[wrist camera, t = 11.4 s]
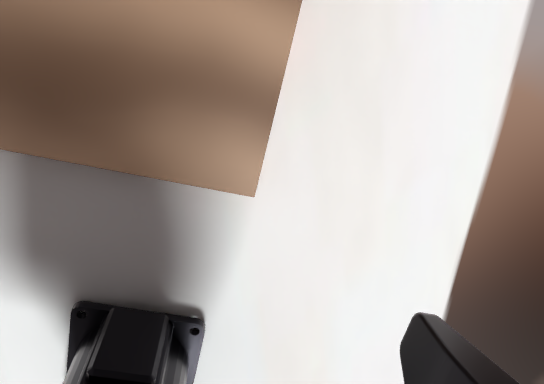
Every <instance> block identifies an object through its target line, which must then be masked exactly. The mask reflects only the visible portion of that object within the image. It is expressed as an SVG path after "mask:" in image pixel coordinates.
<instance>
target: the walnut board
mask: <svg viewBox="0 0 544 384" xmlns="http://www.w3.org/2000/svg"><path fill="white" fill-rule="evenodd" d="M301 3H302V0H0V149H1V150H7V151H12V152H17V153H23V154H28V155H33V156H38V157H44V158H49V159H54V160H60V161H65V162H70V163H75V164H81V165H86V166H91V167H97V168H102V169H107V170H112V171H118V172H123V173H128V174H134V175H139V176H144V177H149V178H155V179H160V180H165V181H171V182H176V183H181V184H186V185H192V186H197V187H202V188H208V189H213V190H218V191H223V192H229V193H234V194H239V195H245V196H250V197H254V196H255V192H256V188H257V184H258V180H259V176H260V172H261V168H262V164H263V159H264V155H265V151H266V147H267V143H268V139H269V135H270V131H271V127H272V122H273V118H274V114H275V110H276V106H277V102H278V98H279V94H280V90H281V85H282V81H283V77H284V73H285V69H286V65H287V61H288V57H289V53H290V48H291V44H292V40H293V36H294V32H295V28H296V24H297V20H298V16H299V11H300V7H301Z"/></svg>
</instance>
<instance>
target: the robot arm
mask: <svg viewBox="0 0 544 384" xmlns="http://www.w3.org/2000/svg"><path fill="white" fill-rule="evenodd" d="M80 311H84V312H86V313H81V312H80ZM192 328H198V330H193V329H192ZM204 333H205V324H204V322H203V321H202V320H200V319H197V318H191V317H184V316H178V315H171V314H164V313H158V312H151V311H145V310H138V309H131V308H125V307H118V306H112V305H105V304H98V303H92V302H85V301H80V302H78V303H76V304H75V305H74V307H73V309H72V312H71V319H70V334H69V348H68V362H67V375H66V377H65V379H64V382H63V384H193V382H194V378H195V373H196V369H197V364H198V360H199V355H200V351H201V347H202V342H203V338H204ZM400 358H401V364H402V371H403V377H404V384H519V383H518V382H517V381H516V380H515V379H513V378H512V377H511V376H510V375H508V374H507V373H506V372H505V371H504V370H503V369H501V368H500V367H499V366H498V365H496V364H495V363H494V362H493V361H492V360H490V359H489V358H488V357H487V356H485V355H484V354H483V353H482V352H481V351H480V350H478V349H477V348H476V347H475V346H473V345H472V344H471V343H470V342H469V341H467V340H466V339H465V338H464V337H463V336H461V335H460V334H459V333H458V332H456V331H455V330H454V329H453V328H452V327H450V326H449V325H448V324H447V323H446V322H444V321H443V320H442V319H441V318H440V317H438V316H436V315H433V314H427V313H421V312H418V313H416V314H415V315H414V316H413V317H412V319H411V322H410V324H409V326H408V328H407V330H406V333H405V335H404V337H403V339H402V342H401V345H400Z"/></svg>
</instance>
